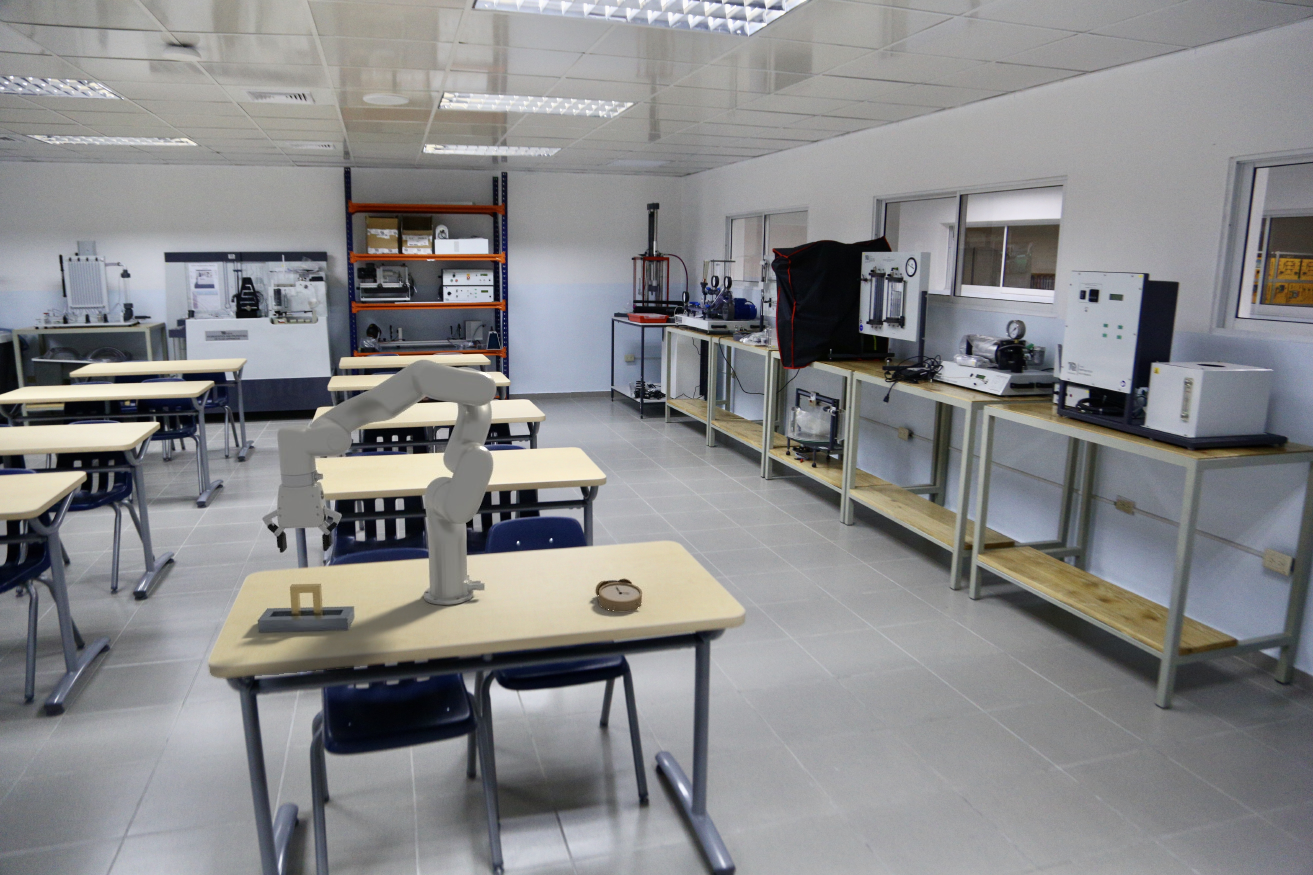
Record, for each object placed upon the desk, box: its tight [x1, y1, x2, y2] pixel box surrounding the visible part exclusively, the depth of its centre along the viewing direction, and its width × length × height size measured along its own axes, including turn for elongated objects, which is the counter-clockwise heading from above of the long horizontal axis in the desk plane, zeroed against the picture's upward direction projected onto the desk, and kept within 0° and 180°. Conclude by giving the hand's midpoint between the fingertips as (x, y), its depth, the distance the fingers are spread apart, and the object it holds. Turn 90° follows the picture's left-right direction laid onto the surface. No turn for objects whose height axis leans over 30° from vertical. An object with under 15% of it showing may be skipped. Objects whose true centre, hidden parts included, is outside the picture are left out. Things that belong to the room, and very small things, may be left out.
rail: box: [257, 605, 355, 633], centre depth 201 cm, size 20×7×3 cm, turn 97°
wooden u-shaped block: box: [289, 583, 323, 616], centre depth 200 cm, size 7×2×9 cm, turn 97°
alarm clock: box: [594, 577, 643, 612], centre depth 220 cm, size 11×5×15 cm
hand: (305, 549), depth 198 cm, fingers open, 9 cm apart
